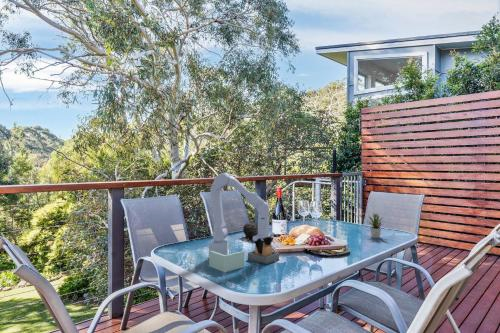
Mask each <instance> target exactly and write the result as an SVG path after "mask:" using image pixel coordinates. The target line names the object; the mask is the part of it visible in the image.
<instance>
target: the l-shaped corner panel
mask: <svg viewBox="0 0 500 333" xmlns="http://www.w3.org/2000/svg"><path fill="white" fill-rule="evenodd" d="M245 252H246V251H244V250H242V251H237V252H233V253H230V254H229V253H228V254H227V255H223V254H220V253H217V252H214V251H209V250H208V257H209V258H208V260H209V262H208V263H209V264H208V266H209V267H210V268H213V269H215V270H218V271H221V272H223V273H227V272H230V271H234V270H239V269H241V268H245V266H246V265H245V264H246V263H245V259H246V258H245Z"/></svg>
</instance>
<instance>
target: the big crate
mask: <svg viewBox="0 0 500 333" xmlns="http://www.w3.org/2000/svg"><path fill="white" fill-rule="evenodd" d="M247 260H248V261H251V262H255V263H260V264H264V265H269V264H271V263H273V262H277V261H279V260H280V252H276V251H272V255H270V256H267V257H265V256H261V255H257V254H255V250H252V251H250V252H247Z"/></svg>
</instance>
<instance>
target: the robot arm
mask: <svg viewBox="0 0 500 333" xmlns="http://www.w3.org/2000/svg"><path fill="white" fill-rule="evenodd" d="M225 187H232V188H234V189H236V190H237V191H238V192H239V193H240V194H242V195H243V196H244V197H245V201H246V202H247V203H249V205H250V206H252V207H253V208H255V209H256V211H257V213H258V214H257V226H258V234H257V235H255V236H253V240H252V242H253V243H254V246H255V245H256V247H257V251H258V253H259V254H262V249H263V244H266V245H271V244H272V242H273V240H274V234H275V233H274V232H273V231H270V211H269V210H270V204H269V203H268V201H265V199H262V198H261V197H260V196H259V195H258V193H257V192H254V191H249V189H247V188H246V187H245V185H243V184H242V183H241V182H240V181H239V180H238V179H237V178H236V177H234V176H233V175H231V174H230V173H228V172H223V173H219V174H218V175H216V176H215V177H214V180H213V182H212V184H211V186H210V198H211V206H212V216H213V221H214V222H213V232H212V239H213V241H211V242H210V243H209V245H208V252H209V251H214V252H217V253H220V254H223V255H228V238H227V237H228V236H229V229H228V228H227V226H226V222H225V218H224V210H223V202H222V201H223V200H222V193H221V191H222V190H223V189H224V188H225ZM271 246H272V245H271ZM207 259H209V256H208V257H207Z"/></svg>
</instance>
